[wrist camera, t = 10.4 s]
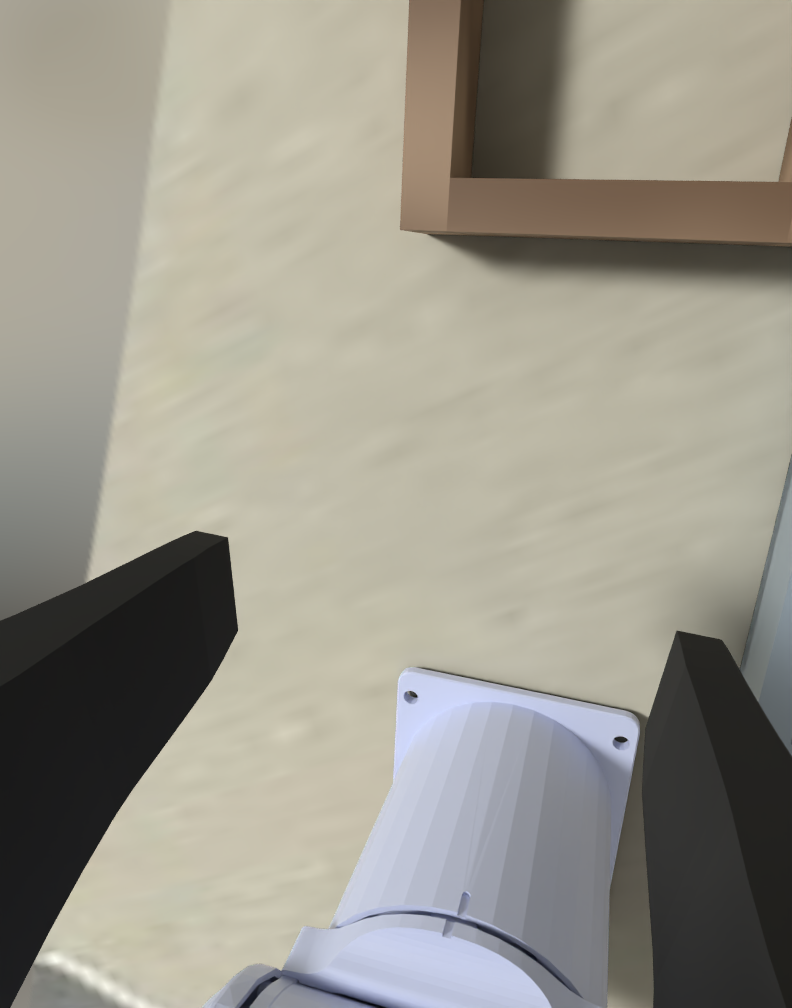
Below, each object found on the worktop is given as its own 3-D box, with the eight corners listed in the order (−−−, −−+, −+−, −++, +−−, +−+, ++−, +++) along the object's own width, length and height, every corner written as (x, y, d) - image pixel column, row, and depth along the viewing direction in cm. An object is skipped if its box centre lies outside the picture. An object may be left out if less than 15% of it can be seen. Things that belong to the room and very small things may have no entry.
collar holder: (818, 247, 17) (849, 244, 15) (425, 233, 20) (399, 229, 17) (943, -293, 14) (1006, -402, 11) (449, -222, 16) (421, -301, 14)
